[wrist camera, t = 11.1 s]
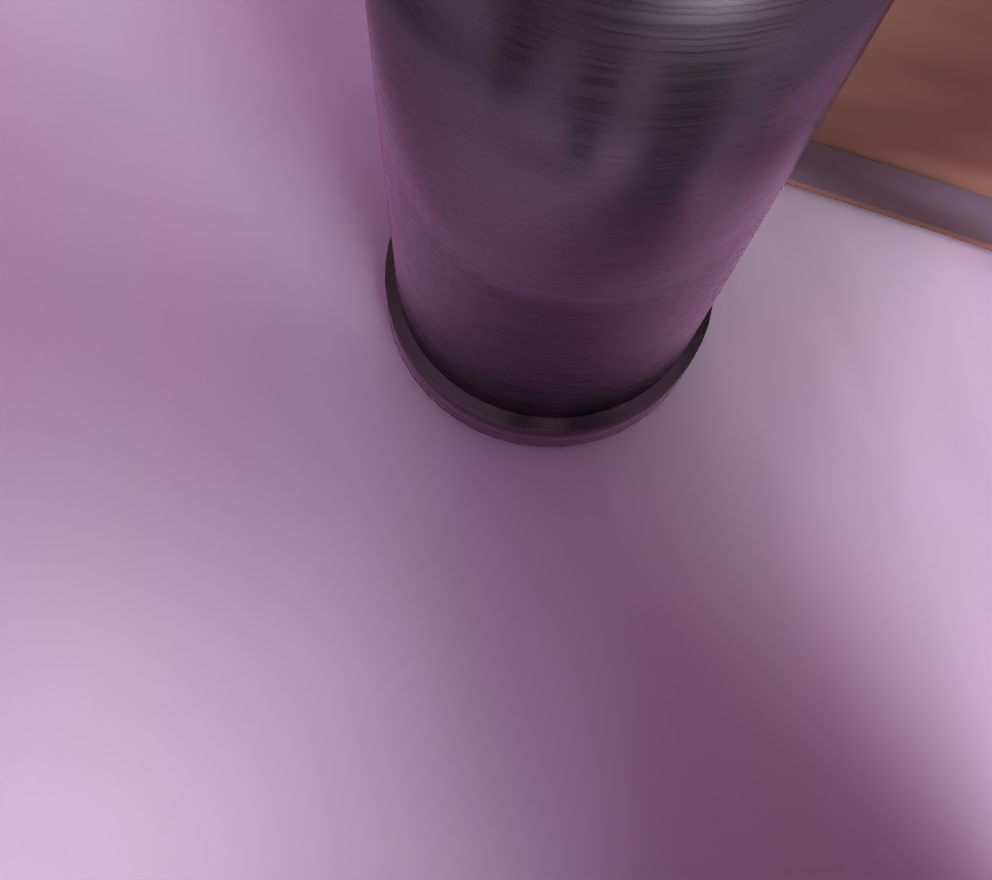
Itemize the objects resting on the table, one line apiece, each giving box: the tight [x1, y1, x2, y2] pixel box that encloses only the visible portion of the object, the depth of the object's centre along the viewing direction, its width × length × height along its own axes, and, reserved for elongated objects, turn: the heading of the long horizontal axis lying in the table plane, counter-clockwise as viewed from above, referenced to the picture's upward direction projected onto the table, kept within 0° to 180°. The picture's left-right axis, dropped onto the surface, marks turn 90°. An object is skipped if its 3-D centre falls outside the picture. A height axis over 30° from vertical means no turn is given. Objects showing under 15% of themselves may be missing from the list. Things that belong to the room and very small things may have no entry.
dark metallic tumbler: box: [365, 0, 894, 446], centre depth 12 cm, size 6×6×13 cm
